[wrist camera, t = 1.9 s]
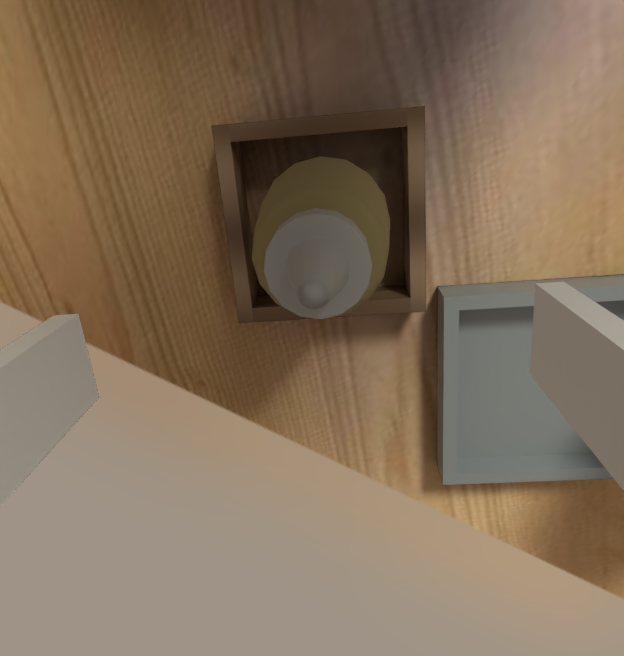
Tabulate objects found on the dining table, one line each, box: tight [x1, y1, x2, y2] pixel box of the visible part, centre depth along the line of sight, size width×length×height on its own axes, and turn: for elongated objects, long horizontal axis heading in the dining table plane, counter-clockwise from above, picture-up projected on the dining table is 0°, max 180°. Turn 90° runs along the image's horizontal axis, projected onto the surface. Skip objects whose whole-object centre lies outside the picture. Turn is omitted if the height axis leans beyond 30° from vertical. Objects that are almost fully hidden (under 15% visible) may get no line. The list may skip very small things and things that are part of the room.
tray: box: [437, 274, 624, 485], centre depth 38 cm, size 15×15×2 cm
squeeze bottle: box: [252, 156, 390, 319], centre depth 27 cm, size 8×8×18 cm
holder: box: [212, 106, 426, 323], centre depth 34 cm, size 12×12×3 cm
